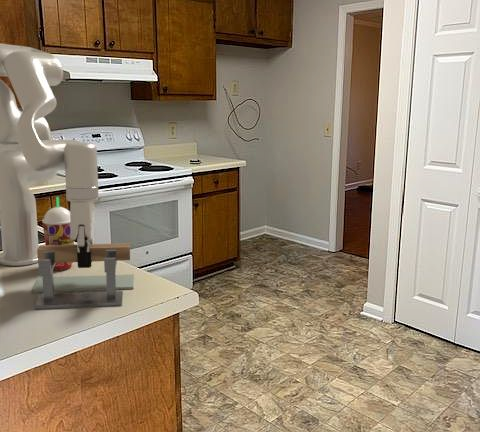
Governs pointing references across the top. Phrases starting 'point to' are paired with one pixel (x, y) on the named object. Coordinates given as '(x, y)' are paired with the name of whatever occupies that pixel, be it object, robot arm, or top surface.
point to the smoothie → (58, 230)
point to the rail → (97, 251)
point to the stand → (77, 299)
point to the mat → (85, 283)
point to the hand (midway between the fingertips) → (85, 264)
